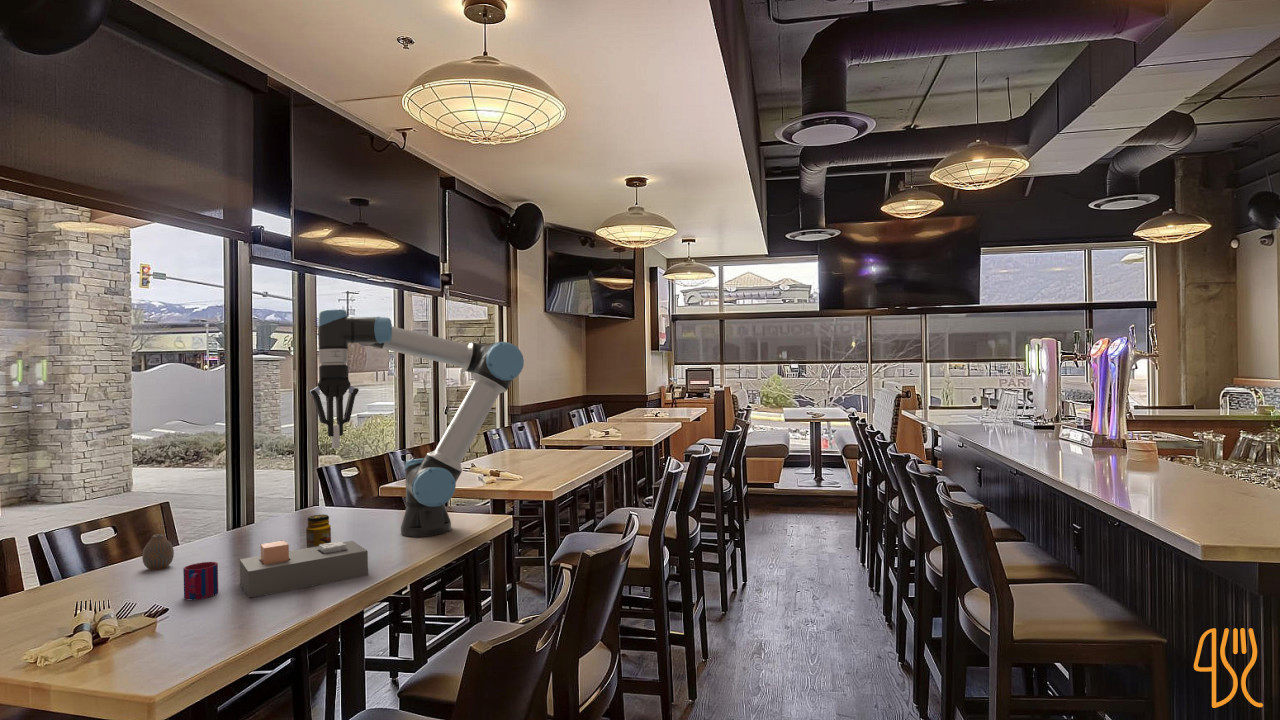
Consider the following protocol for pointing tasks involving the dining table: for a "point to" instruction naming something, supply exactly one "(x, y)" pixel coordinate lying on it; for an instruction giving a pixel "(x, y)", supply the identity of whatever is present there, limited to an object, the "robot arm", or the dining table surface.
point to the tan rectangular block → (274, 552)
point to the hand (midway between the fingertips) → (335, 447)
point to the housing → (302, 569)
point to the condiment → (318, 530)
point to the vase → (158, 553)
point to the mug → (200, 580)
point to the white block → (332, 547)
